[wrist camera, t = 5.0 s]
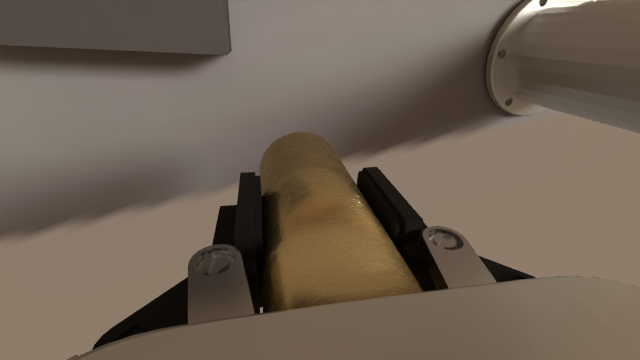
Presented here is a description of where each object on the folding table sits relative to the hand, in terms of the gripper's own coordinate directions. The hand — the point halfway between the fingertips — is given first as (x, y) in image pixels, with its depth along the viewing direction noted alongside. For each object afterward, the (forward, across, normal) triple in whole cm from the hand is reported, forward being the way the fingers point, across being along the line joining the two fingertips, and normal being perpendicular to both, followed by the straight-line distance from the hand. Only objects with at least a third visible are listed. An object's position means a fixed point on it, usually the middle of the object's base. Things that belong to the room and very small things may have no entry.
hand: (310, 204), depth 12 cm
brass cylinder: (+3, 0, 0) cm, 3 cm away
